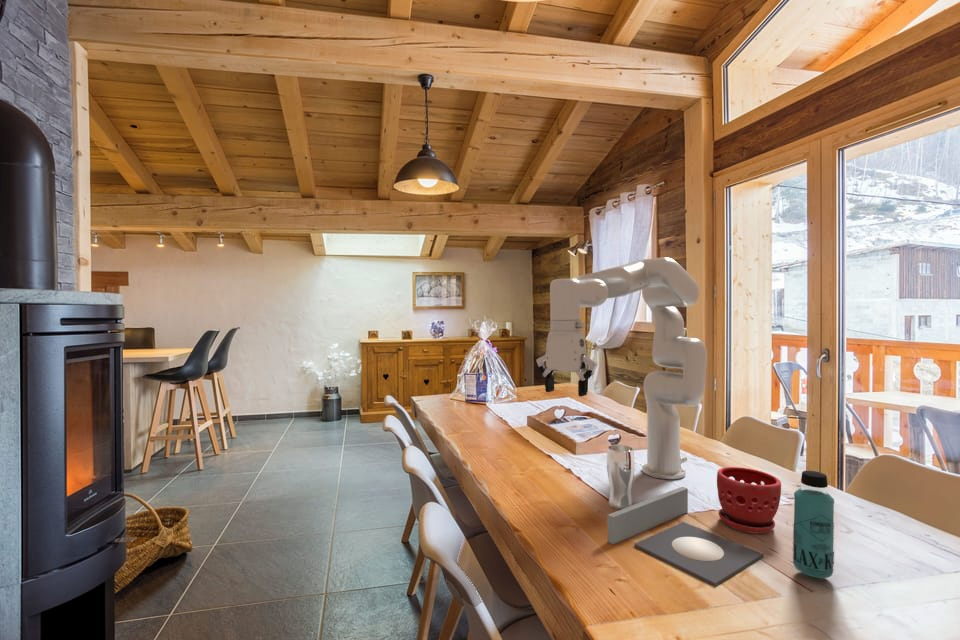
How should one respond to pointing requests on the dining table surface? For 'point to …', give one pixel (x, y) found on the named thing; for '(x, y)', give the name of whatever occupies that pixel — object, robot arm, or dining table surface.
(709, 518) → the dining table surface
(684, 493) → the low wall
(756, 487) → the plant pot
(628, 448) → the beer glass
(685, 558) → the dark gray mat
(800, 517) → the beverage bottle
